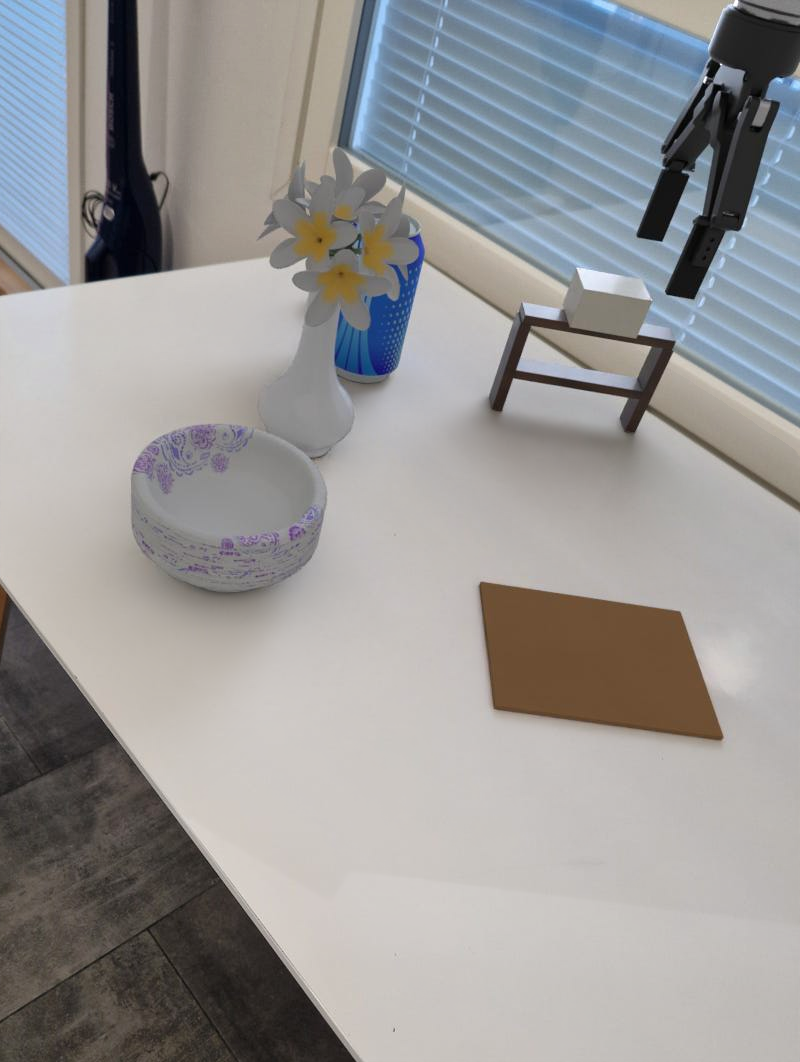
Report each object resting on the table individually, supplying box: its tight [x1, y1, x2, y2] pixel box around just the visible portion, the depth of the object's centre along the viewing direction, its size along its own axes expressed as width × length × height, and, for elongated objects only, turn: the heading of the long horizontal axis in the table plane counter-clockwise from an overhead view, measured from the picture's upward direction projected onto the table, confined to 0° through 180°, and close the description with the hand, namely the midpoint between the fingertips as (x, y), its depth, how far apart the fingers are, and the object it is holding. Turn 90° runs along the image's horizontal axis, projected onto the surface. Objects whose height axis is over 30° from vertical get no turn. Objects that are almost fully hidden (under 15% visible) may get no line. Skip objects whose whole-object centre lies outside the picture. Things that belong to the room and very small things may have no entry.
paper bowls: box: [130, 423, 328, 593], centre depth 72 cm, size 15×15×8 cm
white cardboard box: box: [562, 267, 653, 339], centre depth 91 cm, size 7×5×4 cm
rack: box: [488, 301, 677, 434], centre depth 96 cm, size 16×3×11 cm, turn 87°
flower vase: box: [255, 147, 419, 459], centre depth 79 cm, size 13×18×25 cm
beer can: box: [335, 212, 426, 384], centre depth 94 cm, size 8×8×16 cm
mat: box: [479, 581, 724, 741], centre depth 73 cm, size 18×14×1 cm
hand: (663, 266), depth 89 cm, fingers open, 13 cm apart
